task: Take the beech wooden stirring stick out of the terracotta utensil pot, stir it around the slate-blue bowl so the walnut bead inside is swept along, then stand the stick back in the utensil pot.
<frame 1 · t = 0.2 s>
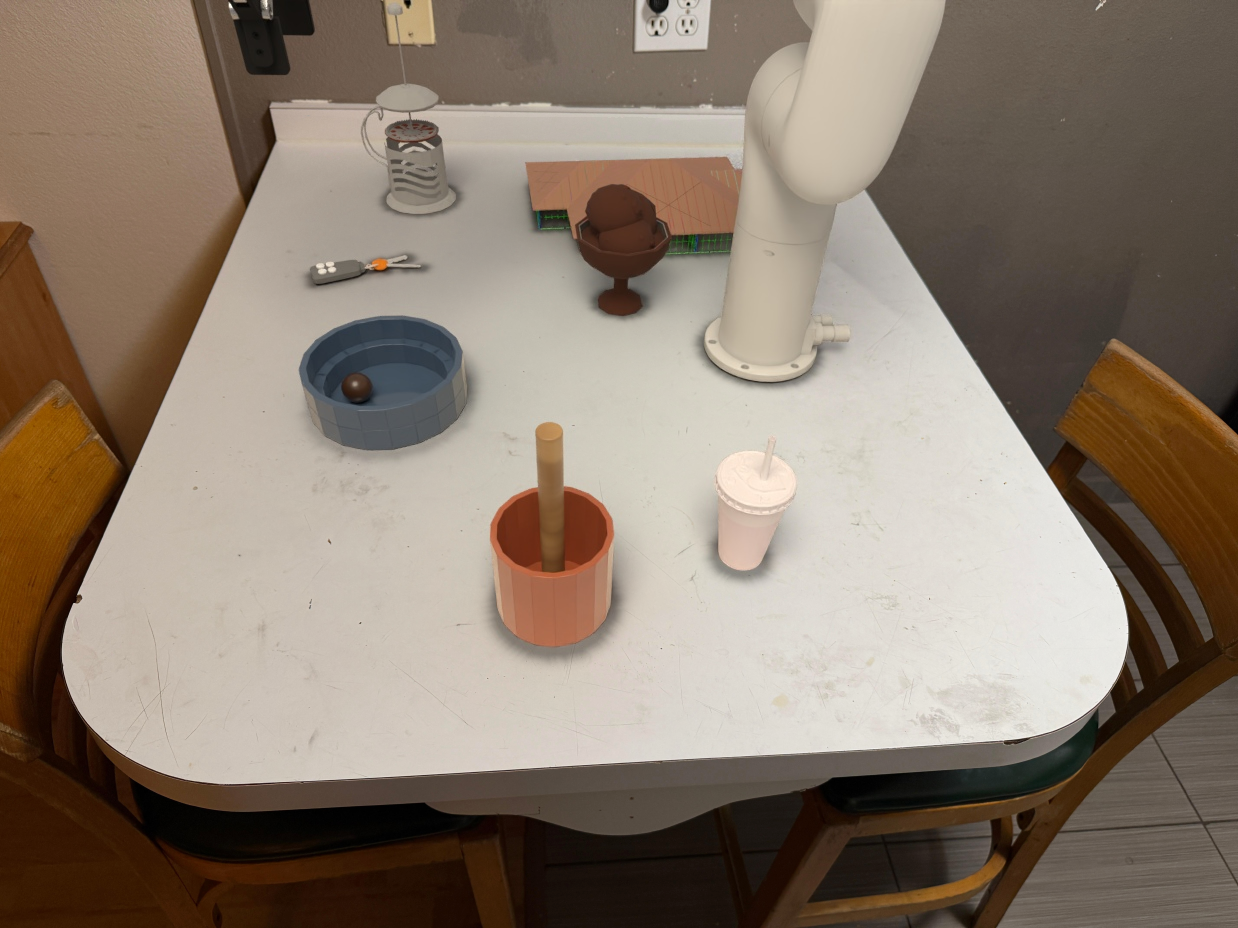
hand: (283, 53, 67), 31 cm above the table, tool pointing down, fingers open, 9 cm apart
mixing bowl: (390, 403, 83), on the table
utensil pot: (554, 603, 66), on the table
ice cream bowl: (619, 304, 98), on the table
french press: (415, 199, 116), on the table
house: (649, 217, 115), on the table
bead: (359, 399, 82), point 1 cm above the table, touching mixing bowl
smoothie: (739, 558, 70), on the table
key chain: (366, 272, 101), on the table
stirring stick: (554, 598, 65), point 1 cm above the table, touching utensil pot
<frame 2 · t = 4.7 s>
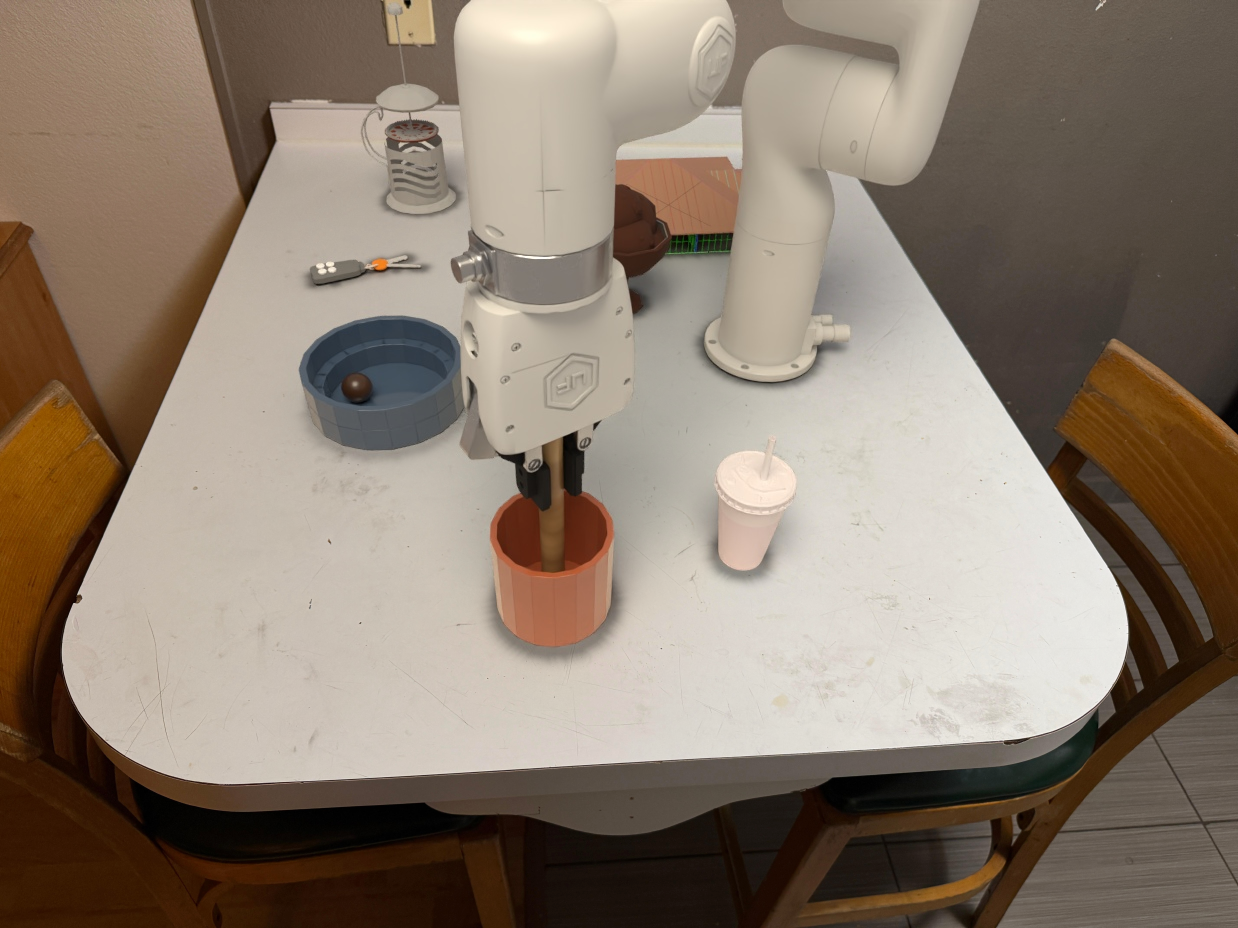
hand: (550, 489, 57), 13 cm above the table, tool pointing down, fingers closed on stirring stick, 1 cm apart
stirring stick: (554, 598, 65), point 1 cm above the table, touching gripper, utensil pot
everything else where it was.
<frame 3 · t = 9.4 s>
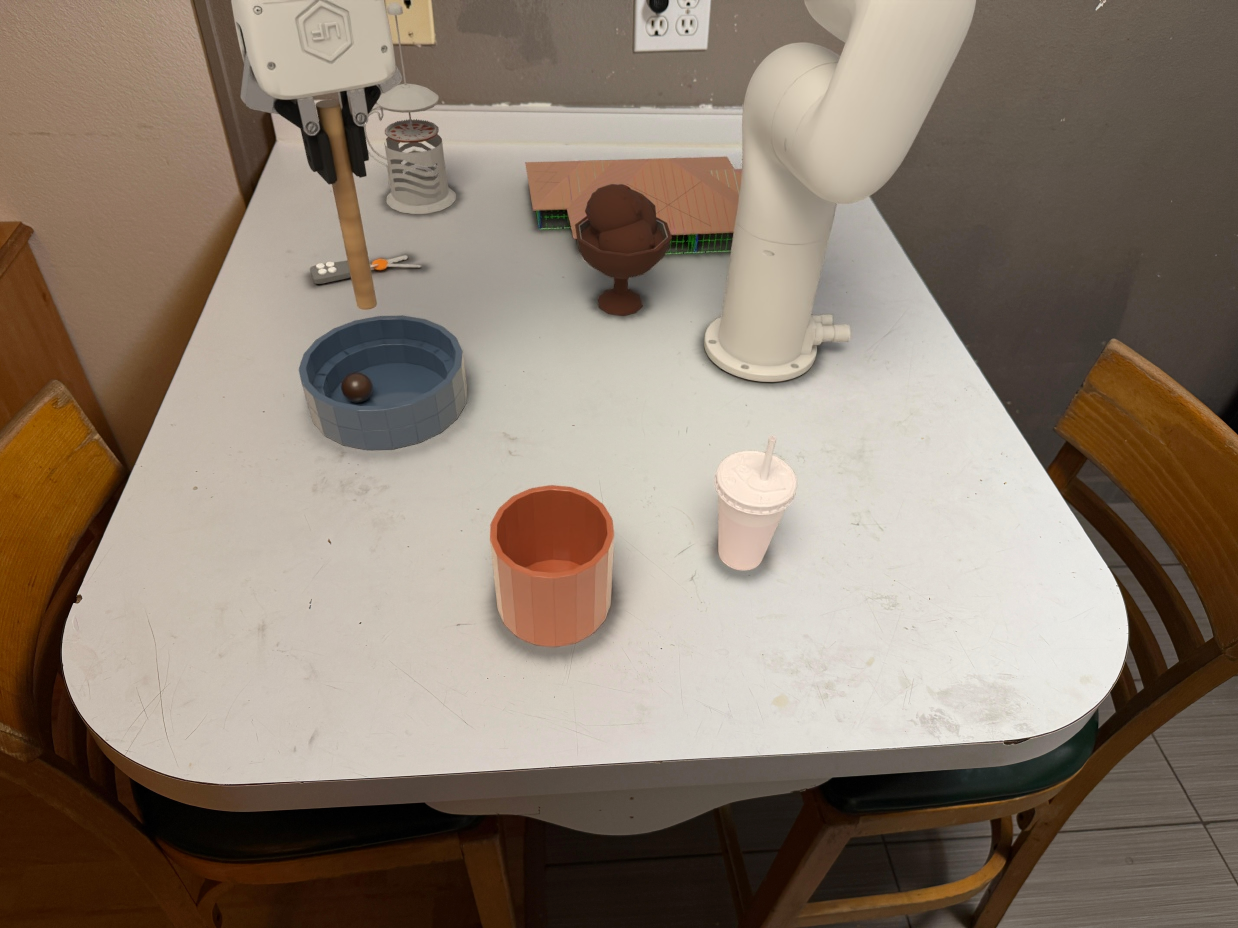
hand: (341, 172, 66), 24 cm above the table, tool pointing down, fingers closed on stirring stick
stirring stick: (367, 304, 75), point 12 cm above the table, touching gripper
everything else where it was.
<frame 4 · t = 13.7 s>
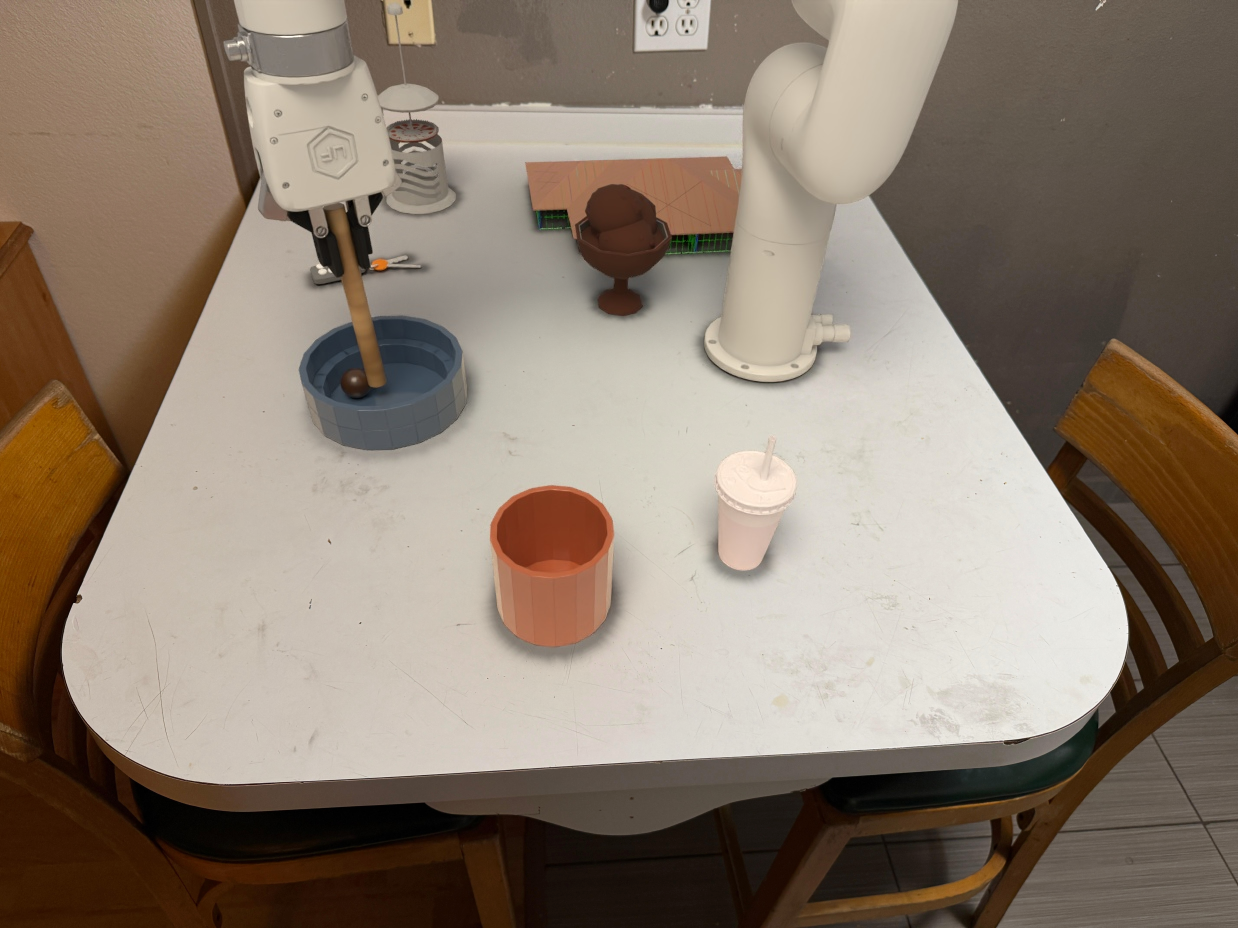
hand: (347, 265, 73), 15 cm above the table, tool pointing down, fingers closed on stirring stick, 1 cm apart
bead: (359, 397, 82), point 1 cm above the table, tilted 29°, touching mixing bowl
stirring stick: (377, 383, 81), point 3 cm above the table, tilted 6°, touching gripper
everything else where it was.
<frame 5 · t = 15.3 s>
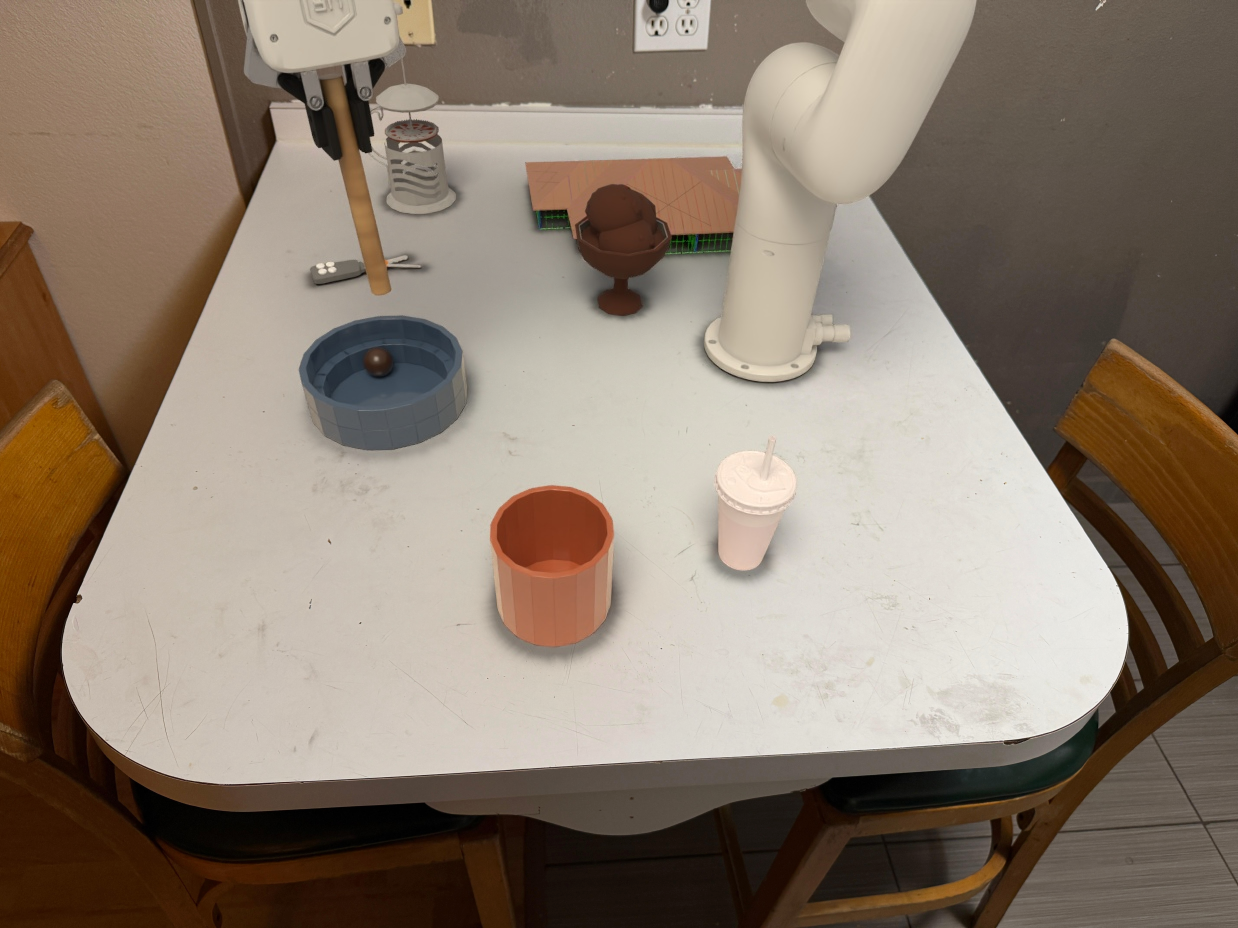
hand: (346, 149, 66), 26 cm above the table, tool pointing down, fingers closed on stirring stick
bead: (378, 353, 83), point 3 cm above the table, tilted 158°, touching mixing bowl
stirring stick: (381, 291, 73), point 14 cm above the table, tilted 6°, touching gripper
everything else where it was.
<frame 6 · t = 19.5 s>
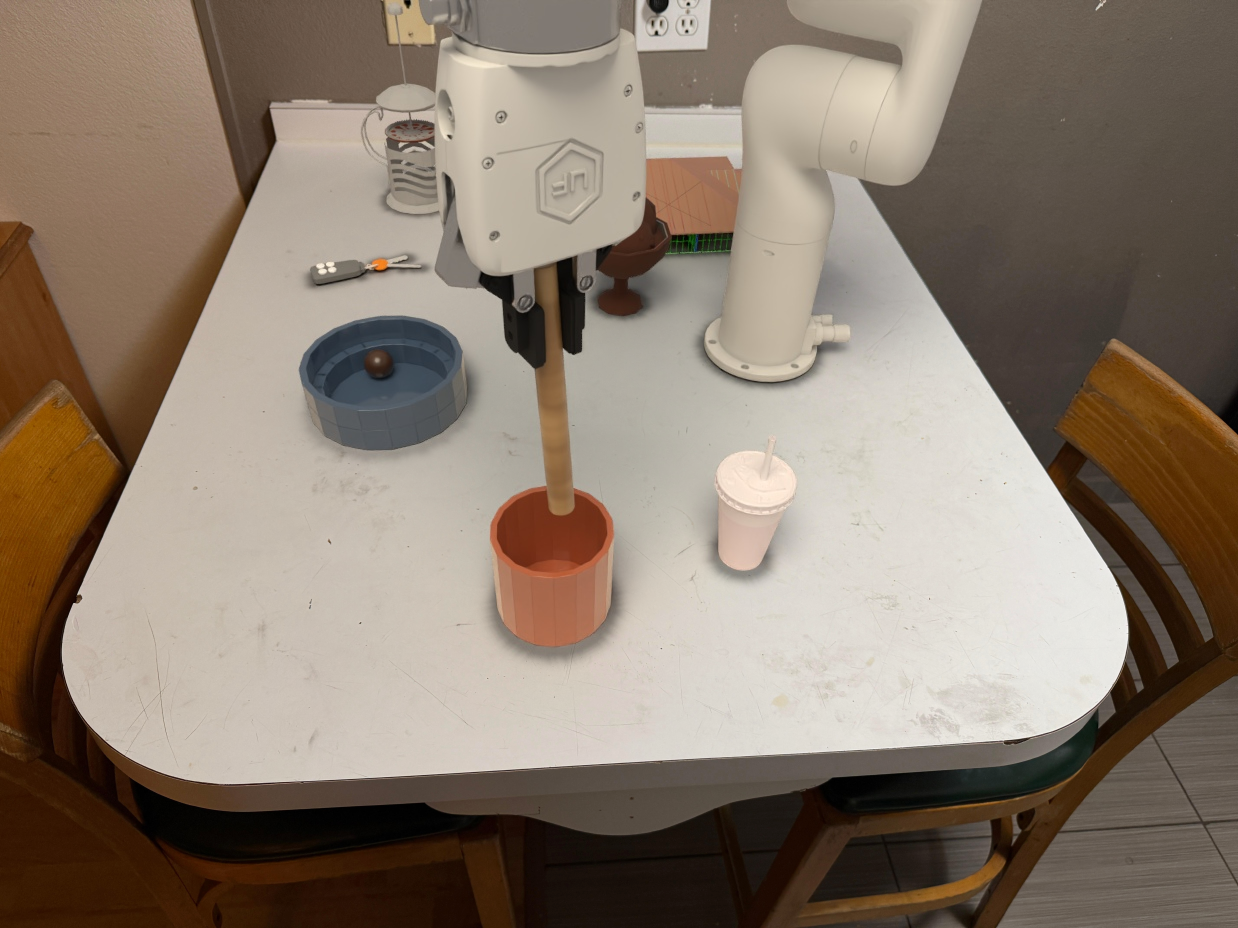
hand: (545, 347, 48), 25 cm above the table, tool pointing down, fingers closed on stirring stick
bead: (380, 358, 83), point 3 cm above the table, tilted 146°, touching mixing bowl
stirring stick: (561, 507, 56), point 13 cm above the table, tilted 6°, touching gripper
everything else where it was.
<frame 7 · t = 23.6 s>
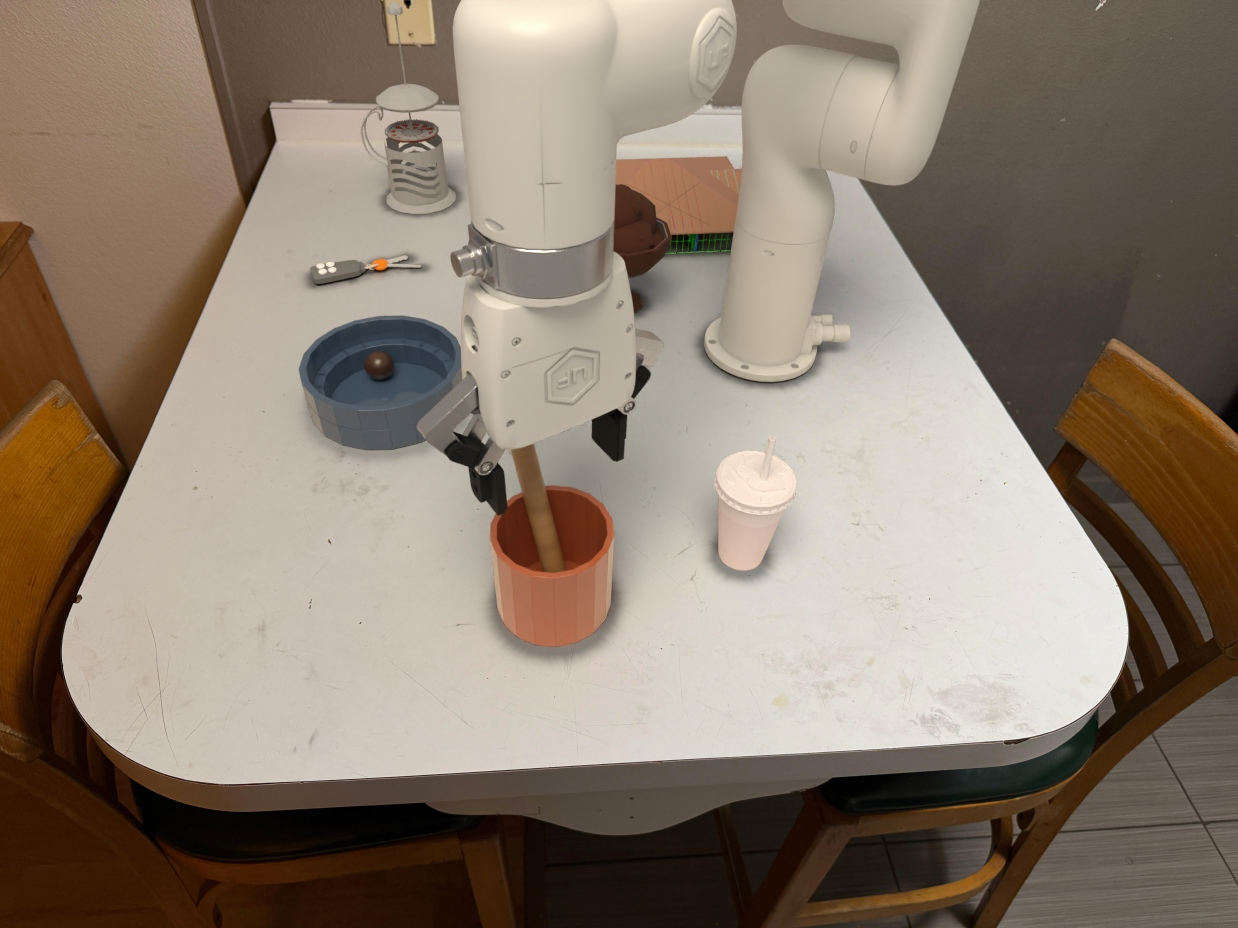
hand: (551, 474, 56), 15 cm above the table, tool pointing down, fingers open, 8 cm apart
bead: (381, 362, 83), point 3 cm above the table, tilted 134°, touching mixing bowl
stirring stick: (564, 608, 64), point 1 cm above the table, tilted 30°, touching utensil pot
everything else where it was.
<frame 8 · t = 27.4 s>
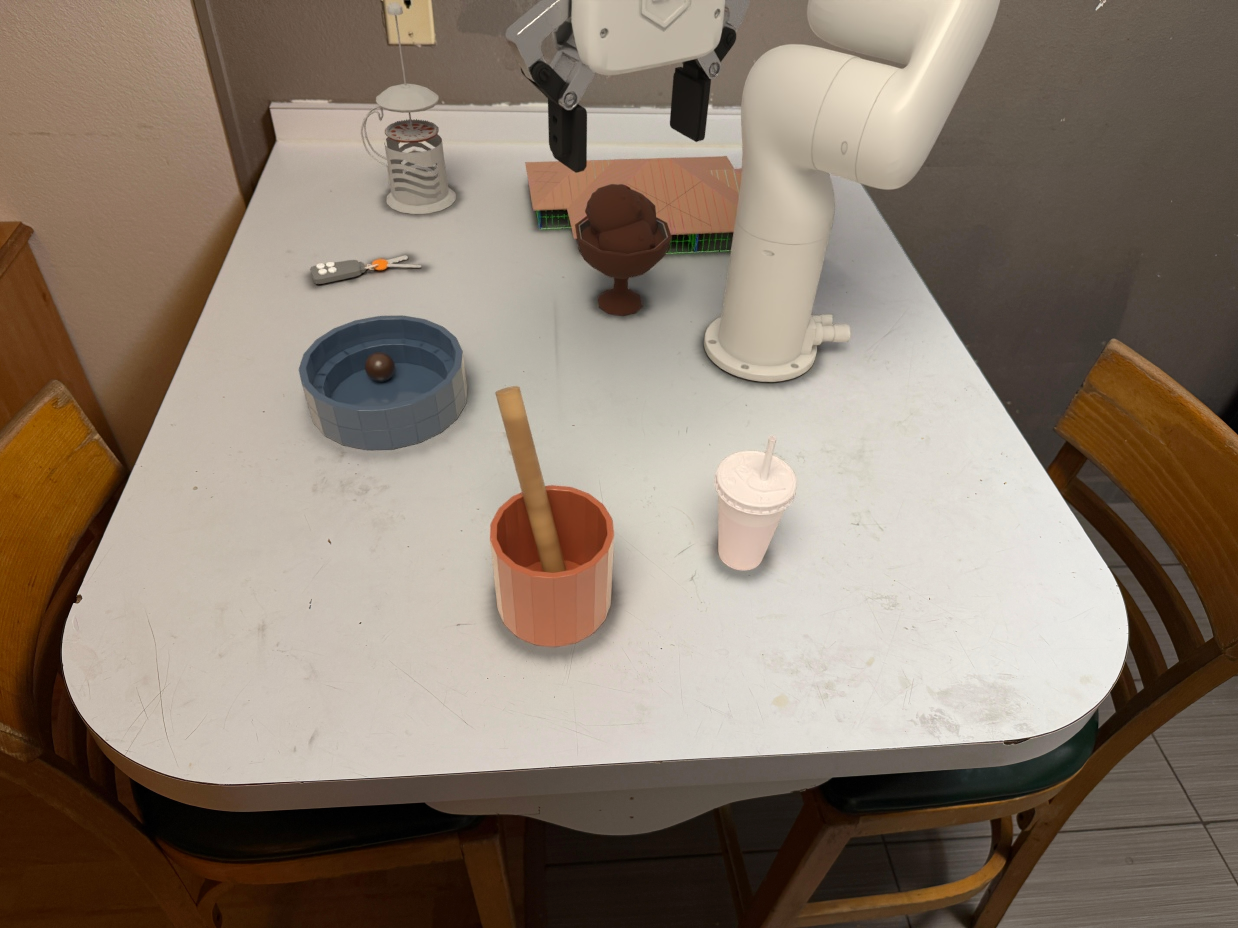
hand: (630, 149, 55), 31 cm above the table, tool pointing down, fingers open, 9 cm apart
bead: (382, 367, 83), point 3 cm above the table, tilted 124°, touching mixing bowl
everything else where it was.
at the end: bead moved 4.0 cm from its start; bead inside the target area in the mixing bowl (2.3 cm from its centre), point 2.9 cm above the mixing bowl's base; stirring stick 1.5 cm off-centre in the utensil pot, point 1.0 cm above the utensil pot's base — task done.
